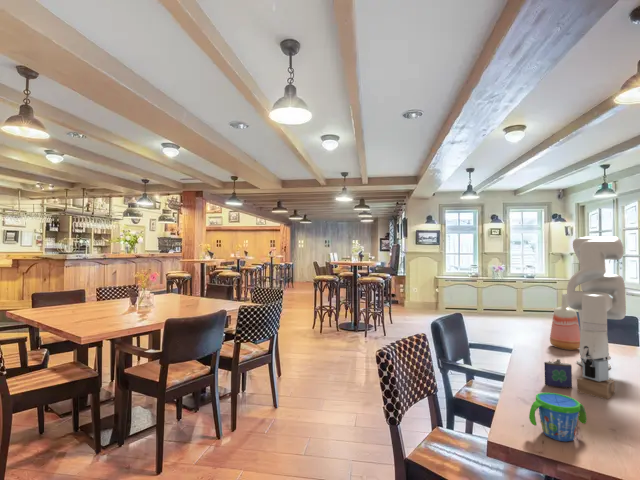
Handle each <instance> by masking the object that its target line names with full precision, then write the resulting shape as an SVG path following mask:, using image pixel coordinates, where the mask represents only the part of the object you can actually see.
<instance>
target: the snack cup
mask: <svg viewBox="0 0 640 480" xmlns="http://www.w3.org/2000/svg"><path fill="white" fill-rule="evenodd" d="M537 410H538V413H539V419H540V423H541V424H540V425H541V430H542V432H543V433H544V435H545V436H546V437H548V438H550V439H553V440H555V441H559V442H570V441H574V440H575V437H576V431H577V423H578V421H579V423H582V424H584V425H585V424H586V423H587V422H588V421H587V420H588V419H587V413H586V410H585V406H584V405H583V404H582V403H580V402H579V401H578V400H576V399H575V398H572V397H570V396H567V395H565V394H561V393H556V392H540V393H537V394H536V395H535V401H534V402H533V403H532V404H531V406H530V411H529V415H528V416H529V417H528V419H529V422H530V423H531V424H532V425H534V426H538V425H537V419H536V416H535V415H536V411H537Z"/></svg>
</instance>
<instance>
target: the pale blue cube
mask: <svg viewBox="0 0 640 480" xmlns="http://www.w3.org/2000/svg"><path fill="white" fill-rule="evenodd" d="M589 358H591V357H589ZM588 360H589V361H590V362H591V360H590V359H588ZM608 364H609V360H604V359H595V361H594V367H595V378H591V377H587V376H585V365H584V362H583V361H582V365H583V366H582V365H581V366H582V376H583V377H585V378H589V379H592V380H595V381H598V382H600V381H605V380H610V378H609V377H610V376H609V369H608Z"/></svg>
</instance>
